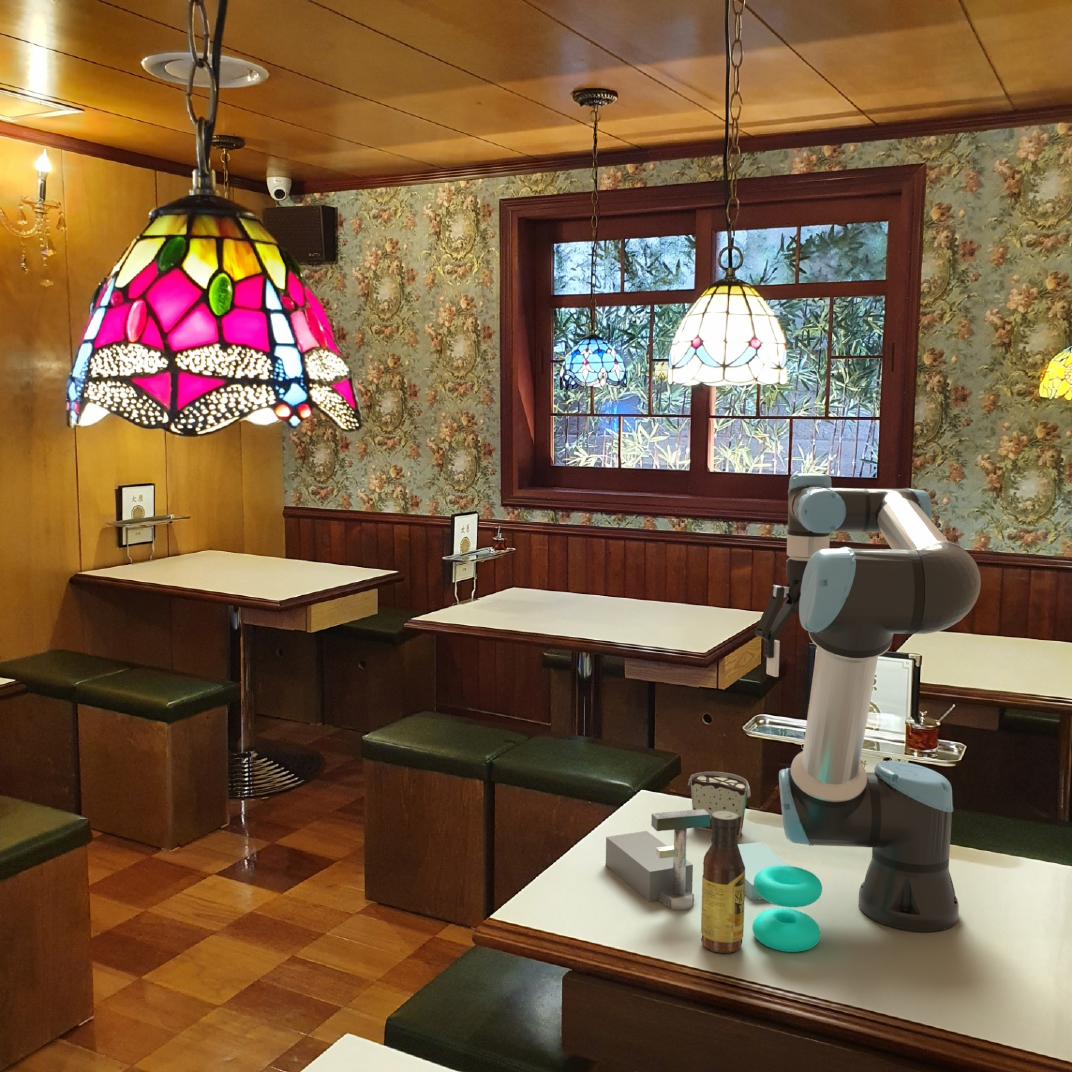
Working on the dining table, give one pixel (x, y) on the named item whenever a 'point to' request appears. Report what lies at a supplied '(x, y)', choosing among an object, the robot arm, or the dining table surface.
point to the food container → (719, 794)
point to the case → (647, 868)
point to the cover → (757, 863)
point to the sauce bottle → (723, 887)
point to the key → (678, 839)
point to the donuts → (786, 924)
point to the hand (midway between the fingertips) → (803, 672)
